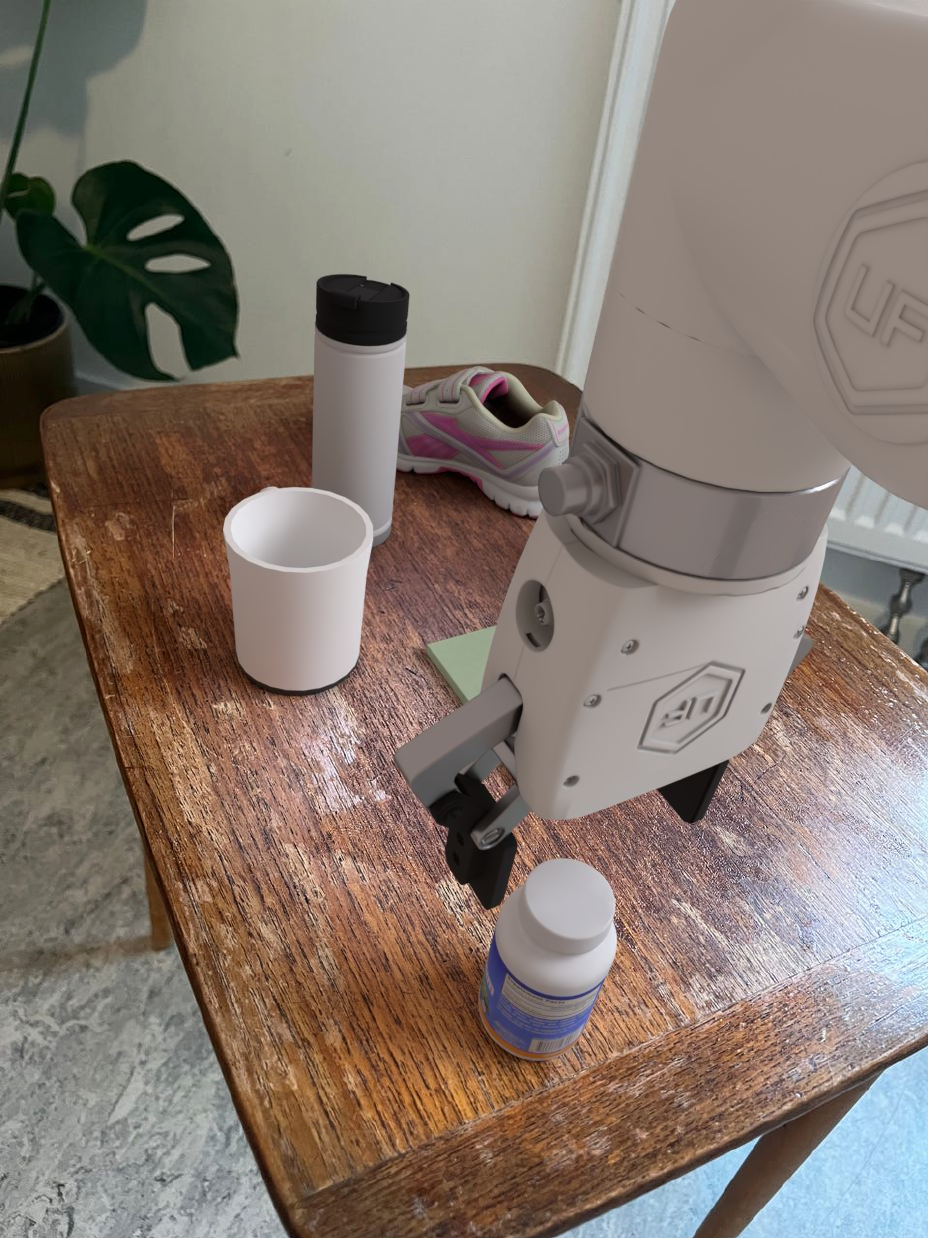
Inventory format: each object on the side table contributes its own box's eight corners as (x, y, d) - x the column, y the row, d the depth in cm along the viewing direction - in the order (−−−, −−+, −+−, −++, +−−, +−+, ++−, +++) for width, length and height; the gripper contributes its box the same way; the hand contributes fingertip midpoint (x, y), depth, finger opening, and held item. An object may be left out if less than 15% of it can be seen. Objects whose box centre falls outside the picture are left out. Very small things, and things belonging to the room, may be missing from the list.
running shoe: (374, 407, 92) (380, 307, 85) (592, 483, 86) (615, 381, 79) (323, 446, 85) (325, 341, 79) (554, 531, 79) (577, 424, 73)
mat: (689, 742, 62) (692, 734, 62) (533, 801, 57) (535, 792, 56) (569, 612, 71) (571, 604, 71) (425, 652, 66) (426, 644, 65)
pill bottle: (498, 943, 49) (528, 824, 43) (598, 984, 48) (644, 869, 42) (459, 1037, 45) (486, 921, 39) (568, 1085, 44) (613, 973, 38)
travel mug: (295, 540, 74) (296, 284, 61) (331, 499, 79) (339, 253, 66) (370, 563, 73) (388, 307, 60) (402, 519, 78) (424, 274, 65)
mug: (386, 681, 63) (397, 555, 57) (254, 716, 59) (249, 585, 53) (326, 584, 70) (329, 461, 64) (205, 609, 67) (195, 482, 60)
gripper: (507, 628, 22) (430, 1004, 33) (994, 492, 29) (797, 835, 40) (368, 455, 26) (342, 836, 37) (818, 377, 34) (685, 713, 45)
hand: (578, 835), depth 39 cm, fingers open, 9 cm apart
